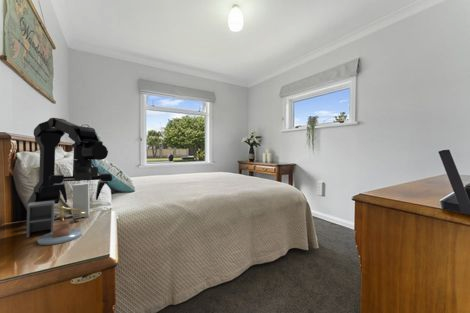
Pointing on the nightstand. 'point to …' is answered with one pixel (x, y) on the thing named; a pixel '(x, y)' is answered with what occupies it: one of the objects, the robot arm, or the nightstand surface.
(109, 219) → the nightstand surface
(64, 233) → the block
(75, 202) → the skincare box
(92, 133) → the robot arm
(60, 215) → the balance
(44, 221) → the empty hood
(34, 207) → the covering hood
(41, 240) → the dish
